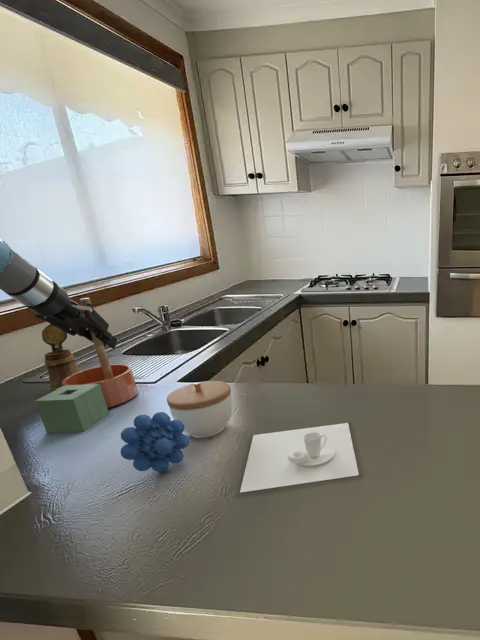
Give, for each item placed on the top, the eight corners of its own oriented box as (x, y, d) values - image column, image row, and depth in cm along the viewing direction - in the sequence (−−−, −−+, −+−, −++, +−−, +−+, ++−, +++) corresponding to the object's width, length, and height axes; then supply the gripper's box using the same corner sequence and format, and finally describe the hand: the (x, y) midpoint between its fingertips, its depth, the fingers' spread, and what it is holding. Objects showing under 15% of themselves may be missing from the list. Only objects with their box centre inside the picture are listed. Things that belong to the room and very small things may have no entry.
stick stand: (46, 433, 96) (34, 401, 93) (74, 415, 105) (64, 385, 102) (84, 431, 96) (72, 399, 93) (109, 413, 104) (99, 383, 101)
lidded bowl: (237, 412, 100) (228, 368, 96) (238, 436, 88) (228, 388, 84) (179, 423, 96) (168, 378, 92) (173, 450, 85) (160, 400, 81)
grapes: (143, 495, 71) (123, 432, 67) (125, 482, 75) (105, 422, 71) (205, 462, 80) (191, 405, 75) (186, 452, 84) (172, 397, 79)
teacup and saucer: (288, 471, 75) (284, 451, 74) (289, 448, 82) (286, 430, 81) (337, 464, 76) (334, 444, 75) (334, 442, 83) (332, 424, 82)
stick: (106, 390, 111) (77, 299, 102) (111, 387, 113) (83, 297, 104) (113, 389, 111) (85, 299, 102) (118, 386, 113) (91, 297, 104)
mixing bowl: (57, 414, 106) (46, 387, 103) (97, 390, 120) (89, 365, 117) (115, 412, 105) (107, 384, 102) (149, 387, 119) (142, 362, 116)
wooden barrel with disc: (88, 376, 132) (70, 320, 126) (87, 389, 121) (67, 328, 115) (54, 383, 128) (33, 325, 122) (50, 397, 117) (27, 334, 111)
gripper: (76, 276, 91) (140, 330, 113) (11, 280, 92) (86, 333, 114) (66, 305, 88) (134, 355, 110) (-1, 309, 89) (79, 358, 111)
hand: (109, 344), depth 112 cm, fingers closed on stick, 2 cm apart
